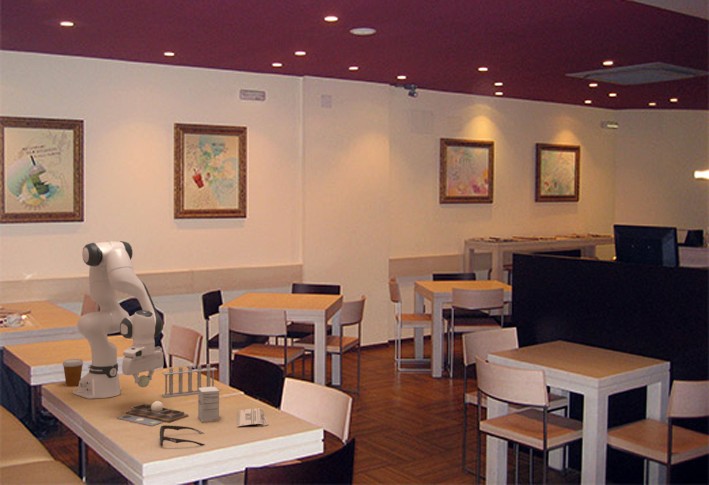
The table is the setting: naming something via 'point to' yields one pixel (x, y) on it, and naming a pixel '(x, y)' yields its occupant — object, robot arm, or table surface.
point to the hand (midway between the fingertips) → (143, 381)
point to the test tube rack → (188, 380)
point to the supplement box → (208, 404)
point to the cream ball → (157, 407)
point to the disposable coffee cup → (73, 371)
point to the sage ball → (143, 381)
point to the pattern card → (140, 420)
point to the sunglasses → (175, 438)
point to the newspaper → (251, 417)
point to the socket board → (163, 416)
